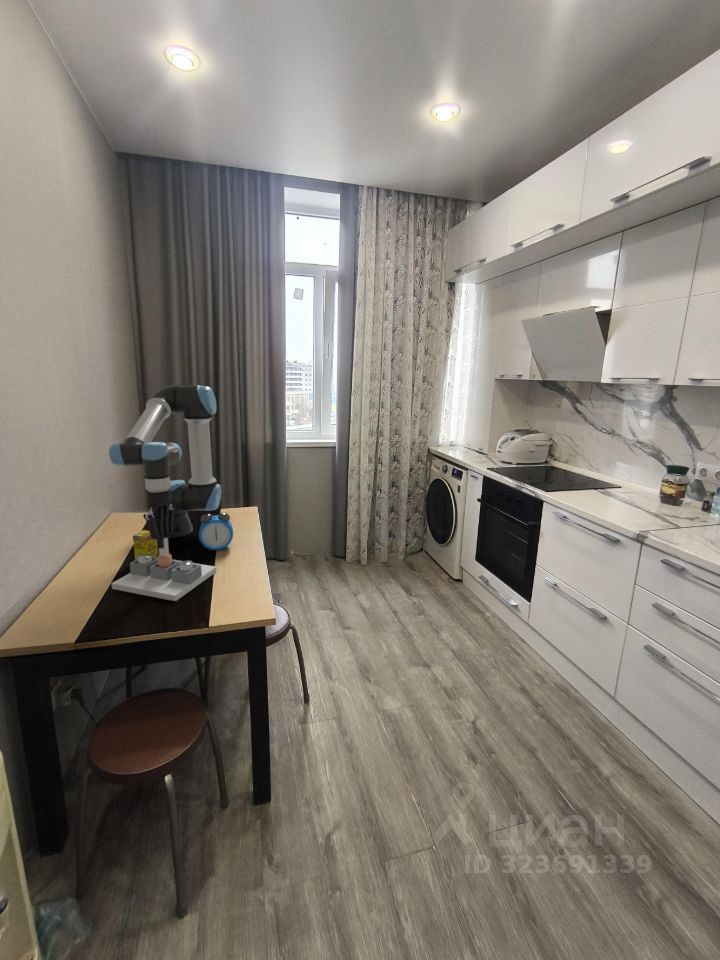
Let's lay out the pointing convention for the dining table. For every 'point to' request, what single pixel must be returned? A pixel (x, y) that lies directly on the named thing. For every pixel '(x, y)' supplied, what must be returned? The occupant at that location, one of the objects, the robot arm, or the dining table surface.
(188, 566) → the silver egg
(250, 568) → the dining table surface
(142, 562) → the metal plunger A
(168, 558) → the brown egg
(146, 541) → the supplement box
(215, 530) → the alarm clock
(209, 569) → the button board
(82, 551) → the dining table surface
